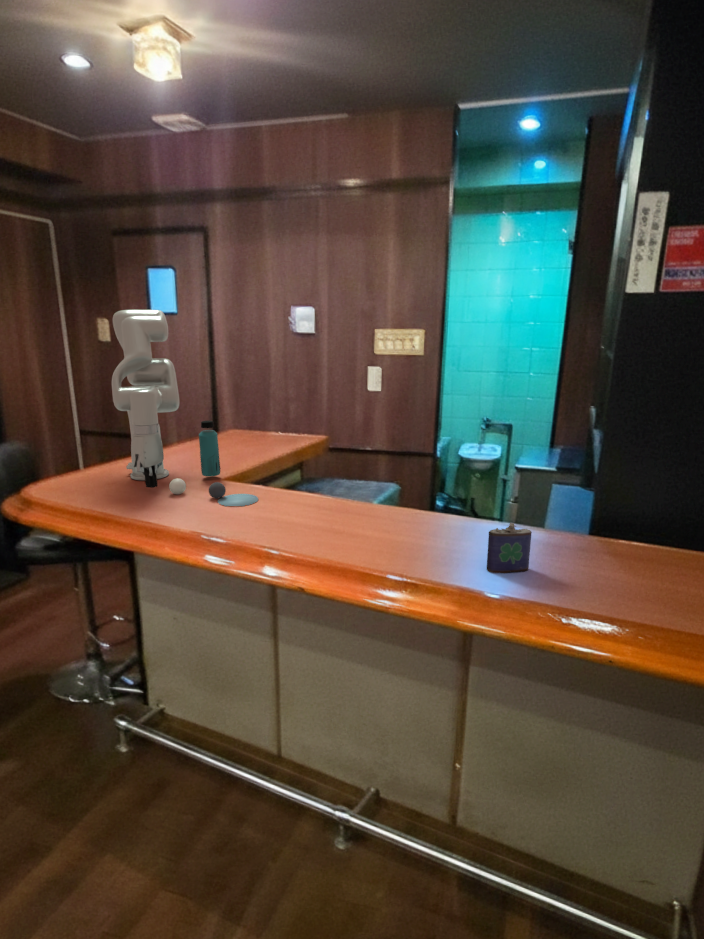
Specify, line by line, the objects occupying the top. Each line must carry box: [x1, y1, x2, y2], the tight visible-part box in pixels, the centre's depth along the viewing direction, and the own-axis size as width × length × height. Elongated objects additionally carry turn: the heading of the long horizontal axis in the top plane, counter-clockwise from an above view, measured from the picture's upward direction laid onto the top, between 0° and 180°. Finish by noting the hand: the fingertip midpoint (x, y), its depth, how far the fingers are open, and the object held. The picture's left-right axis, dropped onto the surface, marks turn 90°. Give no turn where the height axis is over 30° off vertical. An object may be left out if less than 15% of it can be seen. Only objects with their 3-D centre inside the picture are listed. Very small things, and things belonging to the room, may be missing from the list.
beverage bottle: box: [198, 420, 221, 477], centre depth 182 cm, size 6×7×20 cm
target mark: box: [217, 493, 259, 507], centre depth 161 cm, size 12×12×1 cm
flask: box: [486, 522, 532, 574], centre depth 114 cm, size 9×3×11 cm, turn 95°
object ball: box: [208, 481, 227, 500], centre depth 163 cm, size 5×5×5 cm
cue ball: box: [168, 477, 187, 495], centre depth 167 cm, size 5×5×5 cm
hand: (151, 486), depth 170 cm, fingers closed
